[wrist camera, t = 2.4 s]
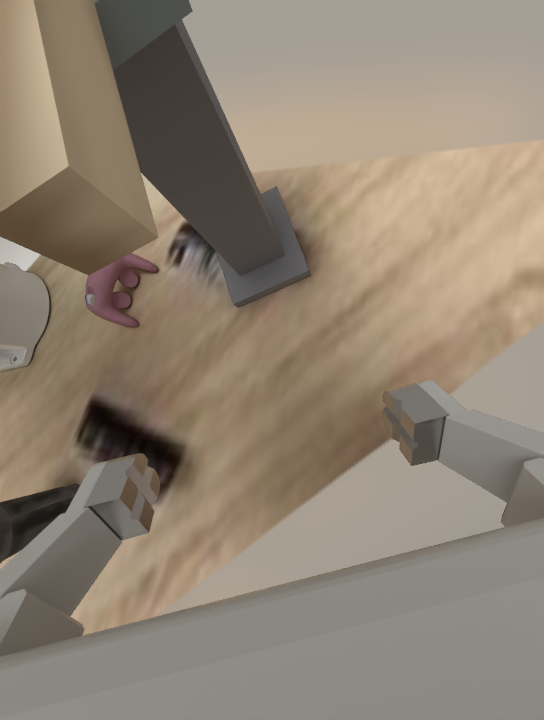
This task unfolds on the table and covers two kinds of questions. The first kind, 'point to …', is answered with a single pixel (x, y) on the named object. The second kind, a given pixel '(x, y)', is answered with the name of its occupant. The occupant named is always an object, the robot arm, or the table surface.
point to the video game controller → (103, 283)
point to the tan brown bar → (66, 139)
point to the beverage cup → (30, 517)
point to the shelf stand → (196, 147)
